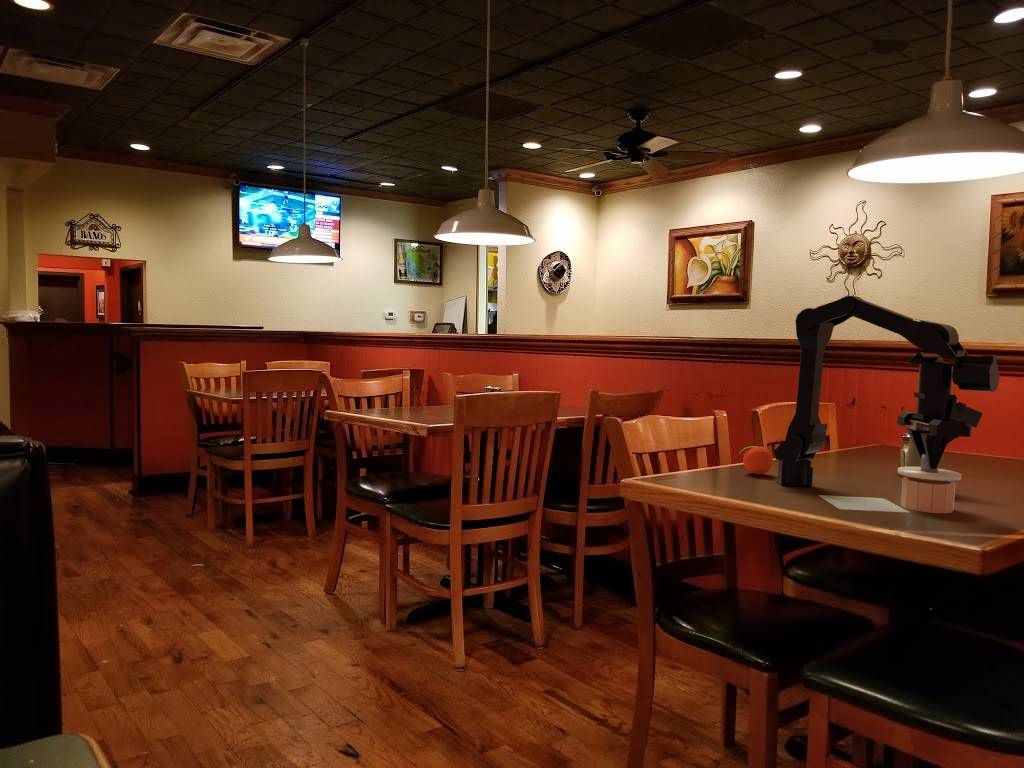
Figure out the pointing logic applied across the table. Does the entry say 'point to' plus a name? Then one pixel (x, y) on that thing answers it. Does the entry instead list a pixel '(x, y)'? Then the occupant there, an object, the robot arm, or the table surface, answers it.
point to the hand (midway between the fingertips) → (929, 467)
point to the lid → (929, 472)
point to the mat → (863, 504)
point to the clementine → (757, 460)
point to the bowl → (928, 495)
